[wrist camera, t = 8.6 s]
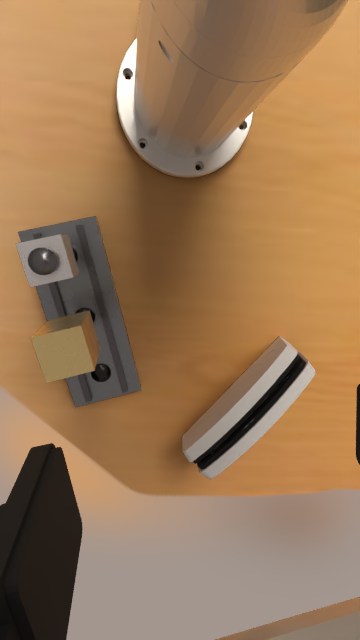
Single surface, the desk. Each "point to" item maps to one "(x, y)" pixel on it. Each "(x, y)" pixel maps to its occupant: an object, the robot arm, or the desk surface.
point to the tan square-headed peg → (67, 346)
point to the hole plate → (82, 300)
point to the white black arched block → (247, 408)
